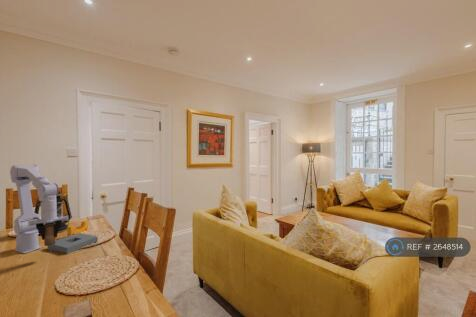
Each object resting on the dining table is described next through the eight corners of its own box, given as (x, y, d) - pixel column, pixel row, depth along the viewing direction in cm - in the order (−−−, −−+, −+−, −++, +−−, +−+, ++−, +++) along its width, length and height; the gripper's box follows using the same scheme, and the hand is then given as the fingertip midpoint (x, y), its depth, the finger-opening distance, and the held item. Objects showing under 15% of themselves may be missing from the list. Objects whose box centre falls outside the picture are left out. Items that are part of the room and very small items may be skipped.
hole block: (47, 248, 118) (47, 243, 118) (79, 237, 133) (78, 232, 133) (67, 253, 112) (67, 247, 112) (97, 241, 127) (97, 236, 127)
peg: (42, 245, 106) (41, 226, 106) (52, 241, 110) (51, 223, 110) (47, 246, 105) (47, 227, 104) (57, 243, 108) (56, 224, 108)
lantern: (33, 238, 133) (32, 187, 132) (31, 232, 143) (29, 185, 142) (75, 229, 147) (74, 183, 146) (69, 224, 158) (68, 181, 157)
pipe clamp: (81, 230, 146) (81, 220, 146) (87, 230, 146) (87, 220, 145) (64, 237, 135) (64, 226, 134) (71, 237, 134) (70, 227, 134)
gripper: (26, 214, 99) (27, 244, 100) (68, 208, 108) (69, 236, 108) (28, 210, 105) (29, 239, 105) (68, 206, 114) (68, 232, 114)
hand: (49, 238), depth 107 cm, fingers closed on peg, 4 cm apart
